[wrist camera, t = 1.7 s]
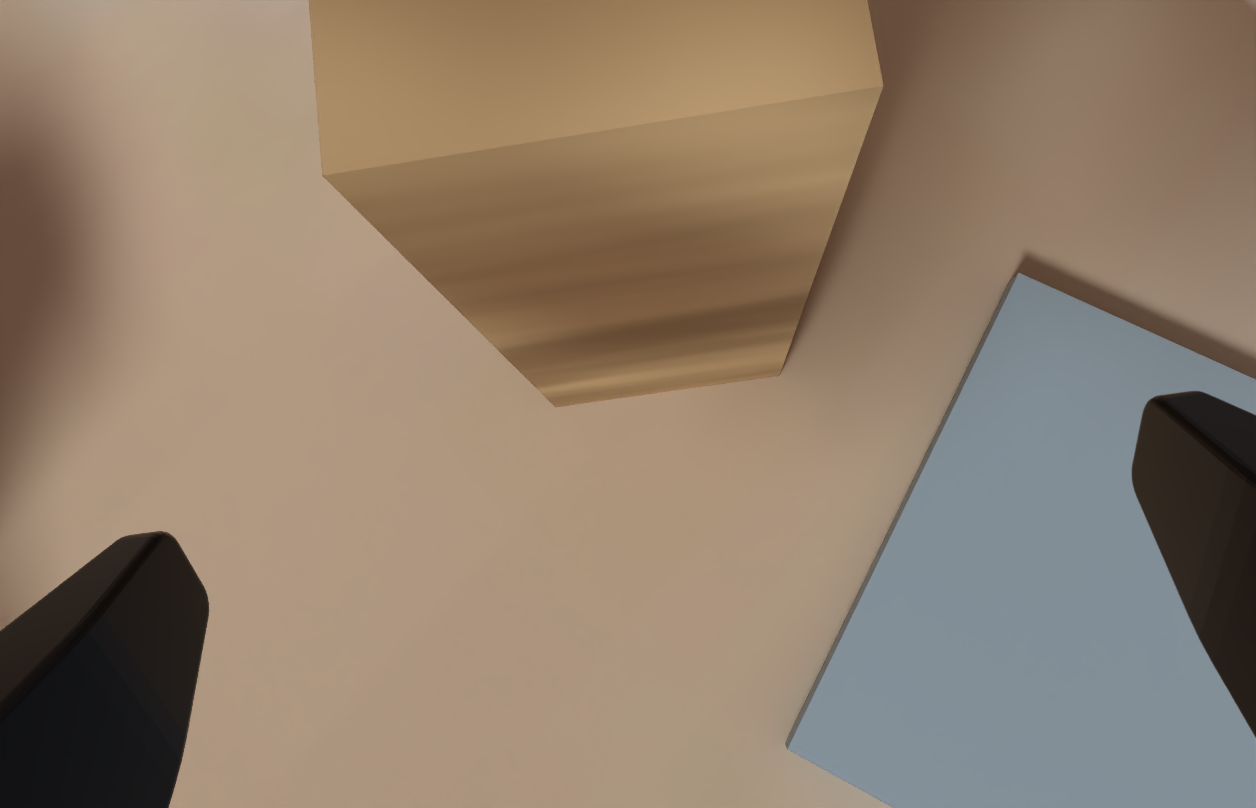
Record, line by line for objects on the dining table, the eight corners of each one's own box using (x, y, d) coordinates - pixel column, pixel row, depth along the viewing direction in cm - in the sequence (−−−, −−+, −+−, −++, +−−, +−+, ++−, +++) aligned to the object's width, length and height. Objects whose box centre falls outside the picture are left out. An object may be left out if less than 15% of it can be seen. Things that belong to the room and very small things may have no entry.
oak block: (779, 375, 21) (884, 86, 8) (555, 407, 21) (323, 176, 9) (745, 162, 22) (792, -397, 9) (530, 196, 22) (286, -300, 9)
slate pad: (1420, 1093, 18) (1444, 1112, 17) (784, 743, 20) (787, 749, 19) (1630, 562, 19) (1659, 561, 18) (1010, 280, 21) (1018, 272, 20)
